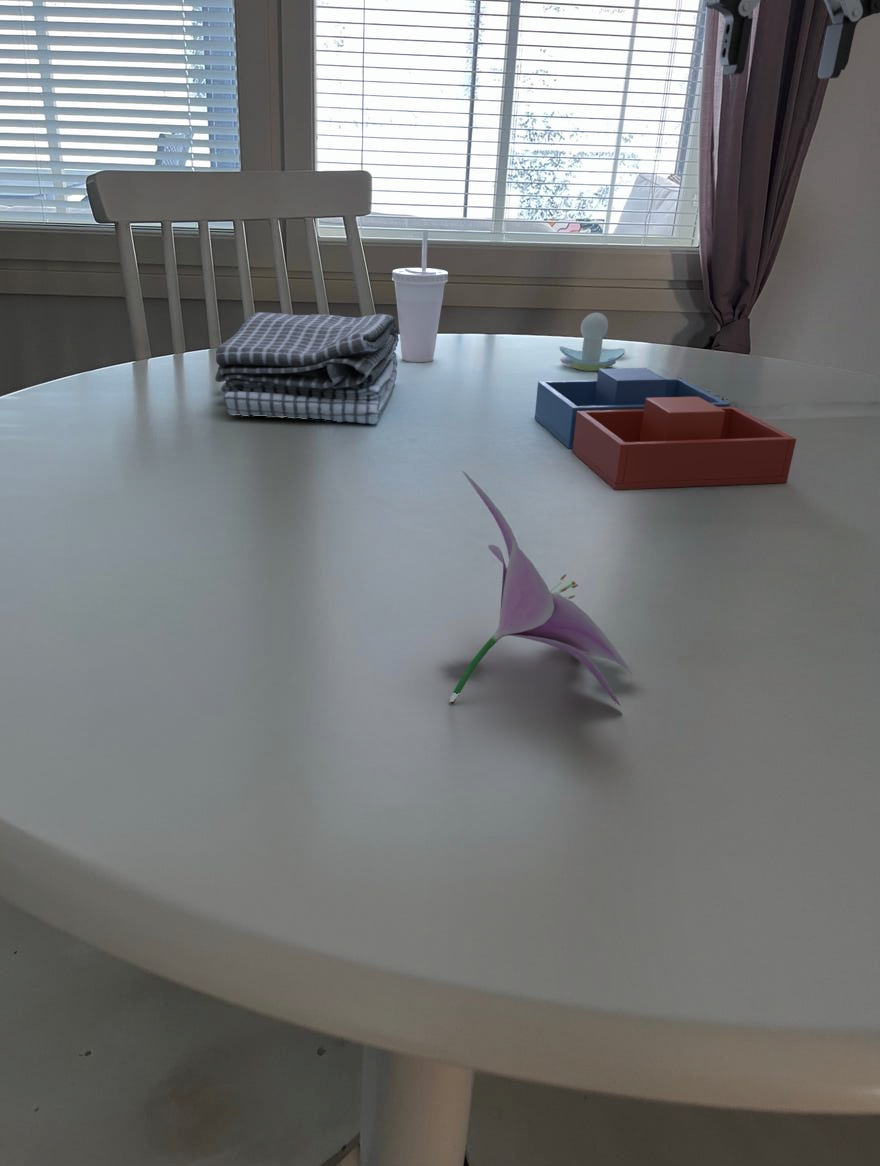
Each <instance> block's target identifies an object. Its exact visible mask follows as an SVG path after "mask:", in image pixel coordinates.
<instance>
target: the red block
mask: <svg viewBox="0 0 880 1166" xmlns="http://www.w3.org/2000/svg"><path fill="white" fill-rule="evenodd" d="M724 415H725V411H724V410H722V409H720V408H718V407H716V406H715V405H713V404H711V403H709V402H707V401H705V400H704V399H702V398H700V397H659V398H646V400H645V406H644V413H643V420H642V427H641V434H640V441H639V442H649V441H680V440H710V439H720V436H721V431H722V426H723V420H724Z"/></svg>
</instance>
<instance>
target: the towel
mask: <svg viewBox="0 0 880 1166" xmlns="http://www.w3.org/2000/svg"><path fill="white" fill-rule="evenodd" d="M399 342H400V338H399V326H397V322H396V318H395V317H394V315H392V314H385V313H376V314H369V315H366V316H359V317H353V316H352V317H351V316H342V315H335V314H334V315H333V314H326V313H323V314H308V315H307V314H291V313H289V314H287V313H281V312H277V313H274V312H270V311H267V312H261V311H260V312H259V311H256V312H255V313H253V314H251V315H250V316H249V317H248V318H247V319H246V320H245V321H244V322H243V323H242V324H241V326H240V327H239V328H238V330H236V333H234V334H233V335H232V336H231V337H230V338H228V339H227V340H226V341H224V342H222V343H220V344H219V345H218V347H217V348H216V350H215V362H216V364H217V365H218V367H217V372H216V374H215V377H214V380H215V382H216V383H222V382H224V383H223V384H222V385H221V387H220V390H221V391H222V392H223V393H224V401H225V403H226V408H227V409H226V410H227V414H228V413H229V414H240V415H267V416H287V417H301V418H313V419H325V420H324V421H326V420H333V421H332V422H334V421H337V422H336V423H342V422H344V423H345V422H346V421H347V422H346V423H357V424H369V425H376V424H378V423H379V420H380V417H381V415H382V413H383V411H384V410H385V408H386V406H387V405H388V402H389V399H390V397H391V396H392V392H393V390H394V388H395V383H396V380H397V374H398V372H397V371H398V370H397V367H398V360H397V353H396V350H397V347H398V344H399ZM229 414H228V415H229ZM313 419H312V420H313Z"/></svg>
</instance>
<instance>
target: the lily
mask: <svg viewBox="0 0 880 1166" xmlns="http://www.w3.org/2000/svg"><path fill="white" fill-rule="evenodd" d="M462 473H463V475H464V476H465V478H466V480H467V481H468V482H469V483H470V485H471V486H472V487H473V489H474V490H475V492H476V493H477V494H478V496H479V497H480V499H481V501H482V502H483V503H484V504H485V506H486V507H487V509H488V511H489V512H490V513H491V515H492V517H493V518H494V520H495V522H496V524H497V526H498V528H499V530H500V533H501V534H502V537H503V540H504V543H505V547H506V552H507V556H508V564H507V565H506V562H505V558H504V554H503V552H502V550H501V549H500V548H499V546H497V545H495V544H488V546H487V547H488V550H489V551H490V552H491V553H492V554H493V555H494V556H495V557H496V558H497V560H498V561H500V563H501V564H502V583H501V584H502V585H501V596H500V597H501V598H500V600H501V601H500V611H499V612H500V613H499V622H498V626H497V629H496V631H495V632H494V634H493V635H492V636H491V637H490V638H489V639H488V640H487V641H486V642H485V644H484V645H483V646H482V648H481V649H480V650H479V651H478V653H477V654H476V655H475V656H474V657H473V658H472V660H471V662H470V663H469V665H468V666H467V668H466V670H465V671H464V672H463V675H461V677H460V679H459V681H458V683H457V685H456V686H455V687H454V689H453V690H452V693H453V692H454V693H456V694H458V693H460V694H461V692H462V690H463V688H464V687H465V685H466V683H467V681H468V680H469V679H470V677H471V675H472V674H473V672H474V671H475V669H476V667H477V666H478V664H479V663H480V661H481V660H482V659H483V658H484V657H485V656H486V654H487V653H488V651H490V650H491V648H492V647H493V646H494V645H495V644H496V643H497V642H498V641H500V640H501V639H502V638H504V637H517V638H522V639H526V640H531V641H535V642H538V643H542V644H545V645H547V646H548V645H549V646H552V647H555V648H557V649H560V650H561V651H563V652H565V653H567V654H569V655H571V657H574V658H575V659H576V660H578V661H579V662H580V663H582V664H583V666H584V667H585V668H587V670H588V671H589V672H590V673H591V674H592V675H593V676H594V677H595V679H596V680H597V681H598V682H599V684H600V685H601V687H603V689H604V690H605V691H606V693H607V694H608V695H609V696H610V698H611V699H612V701H613V702H614V701H615V702H616V703H617V704H618V705H620V706H621V704H620V702H619V699H618V698H617V696H616V694H615V693H614V690H613V689H612V687H611V685H610V683H609V682H608V681H607V679H606V678H605V675H604V674H603V673H602V672H601V671H600V669H599V667H598V666H597V665H596V664H595V663H594V662H593V660H591V658H589V657H588V655H592V656H594V657H598V658H603V659H607V660H610V661H612V662H615V663H616V664H618V665H619V666H621V667H623V668H624V669H625V670H627V671H628V672H629V673H630V674H632V670H631V669H630V667H629V666H628V664H627V663H626V661H625V660H624V658H623V657H622V655H621V654H620V653H619V651H618V650H617V648H616V647H615V646H614V645H613V644H612V642H611V640H610V639H609V638H608V637H607V635H606V634H605V633H604V632H603V631H602V630H601V628H600V627H599V626H598V625H597V624H596V623H595V622H594V620H592V618H591V617H590V616H589V614H587V613H586V612H585V611H583V610H582V609H581V608H580V607H579V606H578V605H577V604H576V603H575V602H573V601H572V600H570V599H574V598H575V597H576V595H575V594H574V595H567V596H562V595H561V593H562V592H566V591H567V590H568V589H570V588H572V589H575V588H577V587H579V584H576V581H575V580H573V581H571V582H570V583H569V584H567V585H565V586H564V587H562V588H560V589H558V590H557V591H554V590H555V589H556V588H557V587H559V585H560V584H561V583H562V582H563V581H565V577H566V576H567V574H566V573H565V574H564V575H563V576H561V578H560V581H559V582H558V583H557V584H556V585H555V586H554V587H553V588H551V589H550V588H549V587H548V585H547V583H546V582H545V581H544V579H543V577H542V575H541V574H540V572H539V571H538V570H537V568H536V567H535V565H534V564H533V562H532V561H531V560H530V559H529V557H528V556H527V555H526V553H524V551H523V550H522V549H521V548H520V547H519V544H518V542H517V539H516V537H515V534H514V532H513V529H512V528H511V526H510V525H509V523H508V521H507V520H506V517H504V514H503V513H502V512H501V510H500V509H499V508H498V507H497V505H496V504H495V503H494V502H493V501H492V499H491V498H490V497H489V495H487V493H486V492H485V491H484V490H483V489H482V488H481V487H480V486H479V485H478V484H477V482H475V481H474V479H473V478H471V477H470V476H469V475H468V474H467V472H465V471H462ZM553 591H554V592H553ZM586 654H588V655H586ZM615 702H614V703H615ZM616 703H615V704H616Z"/></svg>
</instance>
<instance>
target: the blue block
mask: <svg viewBox="0 0 880 1166" xmlns="http://www.w3.org/2000/svg"><path fill="white" fill-rule="evenodd" d="M667 379H668V378H665V377H664V376H662V375H660V374H658V373H656V372H654V371H652V370H650V369H649V368H647V367H624V368H623V367H617V368H616V367H615V368H605V369H598V371H597V376H596V380H597V384H596V393H595V401H594V406H602V405H641V404H645V400H646V398H659V397H665V391H666V385H667Z"/></svg>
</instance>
